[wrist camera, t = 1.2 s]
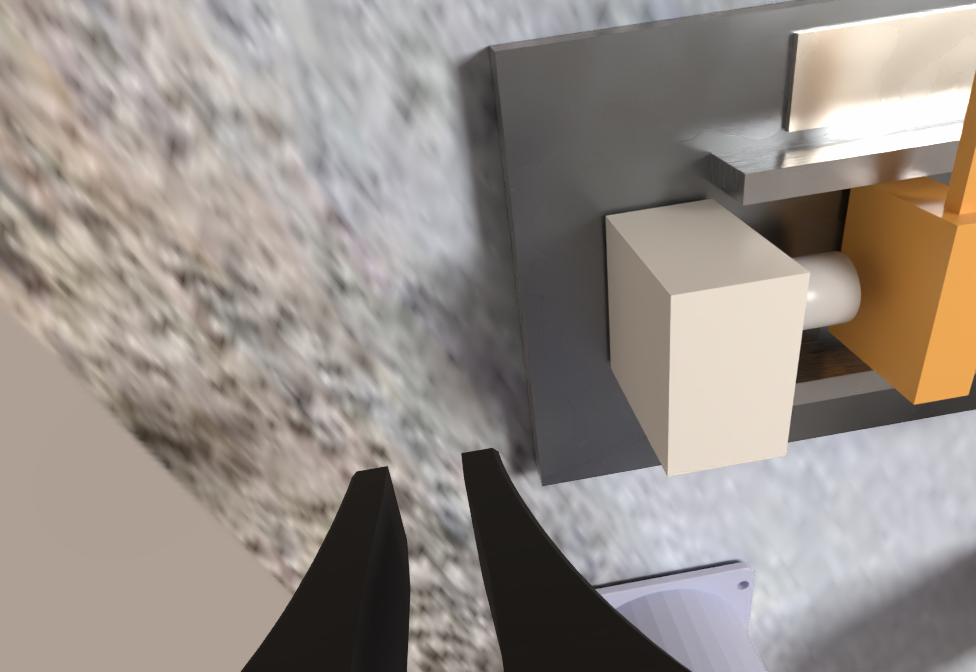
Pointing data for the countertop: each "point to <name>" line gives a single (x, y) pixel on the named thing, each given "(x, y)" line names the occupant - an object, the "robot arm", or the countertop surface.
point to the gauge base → (713, 181)
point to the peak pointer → (917, 277)
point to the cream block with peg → (714, 330)
